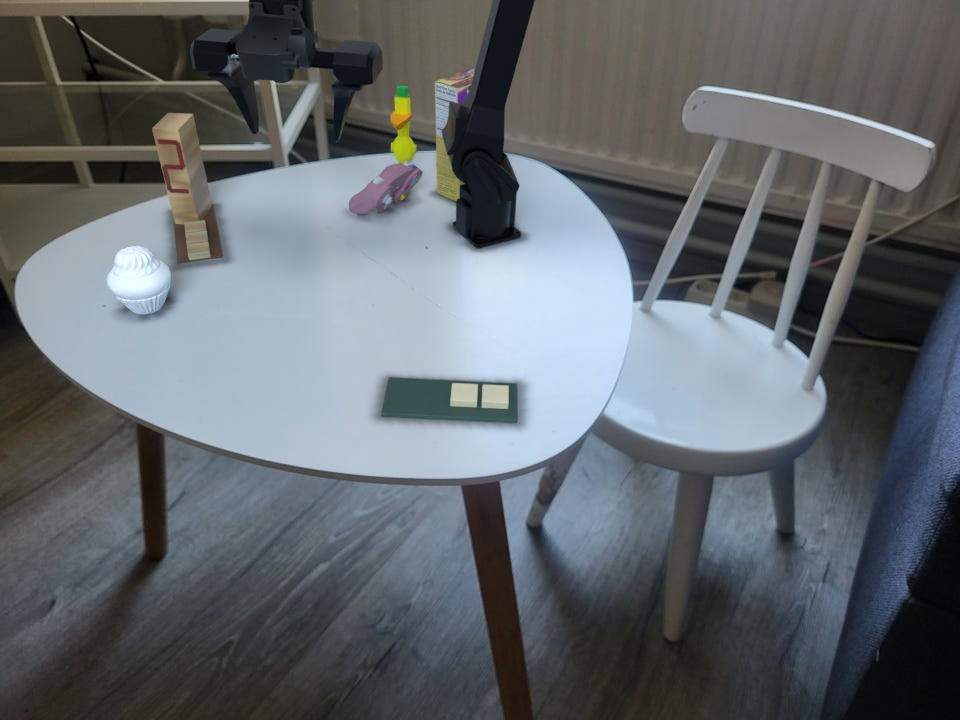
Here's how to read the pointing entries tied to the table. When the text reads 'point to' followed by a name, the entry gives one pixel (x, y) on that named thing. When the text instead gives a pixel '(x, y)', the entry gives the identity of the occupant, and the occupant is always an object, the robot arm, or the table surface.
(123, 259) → the muffin
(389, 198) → the pink toy car
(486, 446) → the table surface
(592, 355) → the table surface
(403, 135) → the toy figure
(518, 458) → the table surface
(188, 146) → the wooden block
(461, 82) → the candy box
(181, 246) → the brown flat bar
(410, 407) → the dark green board
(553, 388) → the table surface
